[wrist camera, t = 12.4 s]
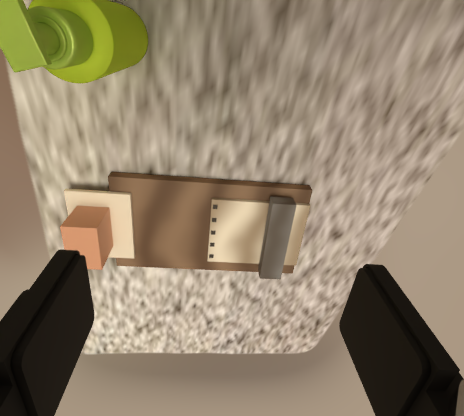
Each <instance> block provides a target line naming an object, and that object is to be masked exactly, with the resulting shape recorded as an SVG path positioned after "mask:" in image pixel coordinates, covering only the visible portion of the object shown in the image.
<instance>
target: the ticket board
mask: <svg viewBox="0 0 464 416" xmlns="http://www.w3.org/2000/svg"><path fill="white" fill-rule="evenodd" d="M108 181H109V191H111V192H127V193H131V197H132V213H133V229H134V244H135V258H116V262H117V266H137V267H159V268H182V269H205V270H227V271H250V272H259V277H260V278H264V279H281V275H282V273H293V269H294V265H296V263H297V259H298V255H299V251H300V246H301V242H302V238H303V234H304V230H305V226H306V221H307V217H308V213H309V209H310V204H309V202H310V198H311V193H312V189H311V187H310V186H309V185H296V184H282V183H267V182H252V181H238V180H223V179H208V178H194V177H179V176H164V175H150V174H135V173H121V172H111V173H110V175H109V176H108Z"/></svg>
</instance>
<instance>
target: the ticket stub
mask: <svg viewBox="0 0 464 416" xmlns="http://www.w3.org/2000/svg"><path fill="white" fill-rule="evenodd" d="M64 194H65V199H66V205H67V211H68V217H67V219H66V220H65V221H64V222H63V224H62V225H61V226H60V228H61V233H62V238H63V243H64V249H65V250H77V251H79V252H80V255H84V256H85V258H86V264H87V269H100V270H102V268H103V266H104V264H105V262H106V260H107V258H108V257H113V258H135V244H134V229H133V213H132V197H131V193H127V192H111V191H96V190H80V189H65V190H64Z"/></svg>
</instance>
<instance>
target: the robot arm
mask: <svg viewBox="0 0 464 416" xmlns="http://www.w3.org/2000/svg"><path fill="white" fill-rule="evenodd" d="M93 321H94V309H93V302H92V296H91V290H90V283H89V277H88V270H87V264H86V258H85V256H84V255H80V252H79V251H77V250H58V251H57V252H56V253H55V255H54V256H53V258H52V259H51V260H50V262H49V263H48V264H47V266H46V267H45V269H44V270H43V271H42V273H41V274H40V275H39V277H38V278H37V279H36V281H35V282H34V284H33V285H32V286H31V288H30V289H29V290H26V291H23V292H22V294H21V295H20V296H19V297H18V298H17V300H16V301H15V302H14V304H13V305H12V306H11V308H10V309H9V310H8V312H7V313H6V314H5V316H4V317H3V318H2V320H1V321H0V416H54V415H55V413H56V410H57V408H58V405H59V403H60V401H61V398H62V396H63V393H64V391H65V389H66V386H67V384H68V382H69V379H70V377H71V375H72V372H73V370H74V368H75V365H76V363H77V360H78V358H79V356H80V353H81V351H82V349H83V346H84V344H85V341H86V339H87V337H88V334H89V332H90V330H91V327H92V325H93ZM340 331H341V334H342V337H343V339H344V341H345V344H346V346H347V349H348V351H349V353H350V356H351V358H352V360H353V363H354V365H355V368H356V370H357V372H358V375H359V377H360V380H361V382H362V384H363V387H364V389H365V392H366V394H367V396H368V399H369V401H370V403H371V406H372V408H373V411H374V413H375V415H376V416H464V379H463V378H462V376H461V375H460V373H459V371H460V369H459V368H458V367H457V365H456V364H455V363H454V361H453V360H452V358H451V357H450V356H449V354H448V353H447V352H446V350H445V349H444V347H443V346H442V345H441V343H440V342H439V341H438V339H437V338H436V336H435V335H434V334H433V332H432V331H431V329H430V328H429V327H428V325H427V324H426V323H425V321H424V320H423V319H422V317H421V316H420V315H419V313H418V312H417V310H416V309H415V307H414V306H413V305H412V303H411V302H410V301H409V299H408V298H407V296H406V295H405V294H404V293H403V291H402V290H401V288H400V287H399V285H398V284H397V283H396V281H395V280H394V279H393V277H392V276H391V275H390V273H389V272H388V271H387V269H386V268H385V267H384V266H383V265H374V264H366V265H364V266H363V268H360V269H359V270H358V272H357V275H356V278H355V281H354V284H353V286H352V289H351V292H350V295H349V297H348V300H347V303H346V306H345V308H344V311H343V314H342V317H341V320H340Z"/></svg>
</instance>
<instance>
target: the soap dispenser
mask: <svg viewBox="0 0 464 416" xmlns="http://www.w3.org/2000/svg"><path fill="white" fill-rule="evenodd" d="M147 46H148V35H147V31H146V28H145V25H144V23H143V21H142V20H141V18H140V17H139V16H138V15H137V14H136V13H135V12H134V11H133V10H132V9H130V8H128V7H127V6H124V5H121V4H118V3H115V2H111V1H108V0H33V1H32V2H31V4H30V6H29V8H28V10H27V8H26V6H25V4H24V1H23V0H0V47H1V49H2V51H3V53H4V55H5V57H6V58H7V60H8V62H9V64H10V66H11V67H12V69H13V71H14V72H20V71H25V70H29V69H33V68H38V67H44V68H46V69H47V70H48V71H49V72H50V73H52V74H53V75H55V76H56V77H58V78H60V79H62V80H65V81H68V82H72V83H88V82H91V81H94V80H97V79H99V78H102V77H104V76H107V75H110V74H112V73H115V72H117V71H120V70H122V69H125V68H128V67H130V66H133V65H135V64H137V63H138V62H139V61H140V60H141V59H142V58H143V57H144V55H145V53H146V50H147Z"/></svg>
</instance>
